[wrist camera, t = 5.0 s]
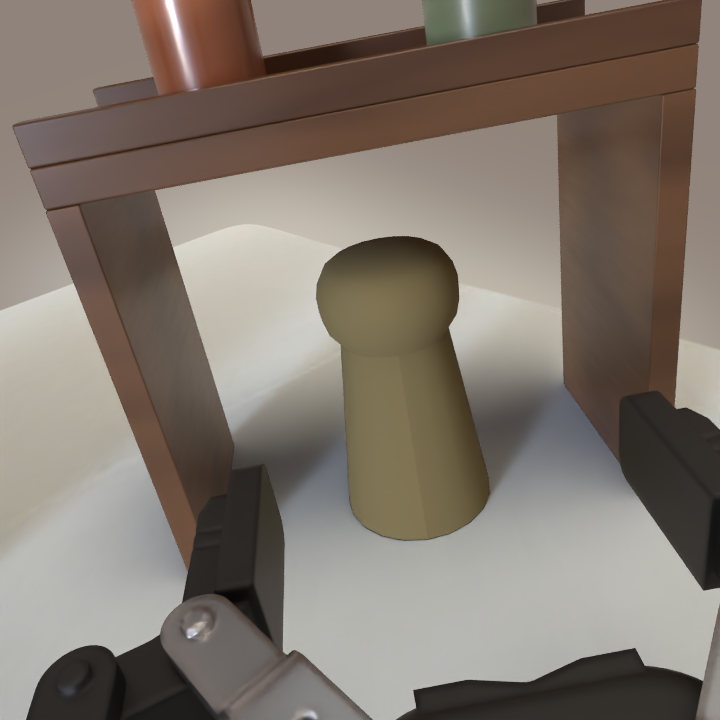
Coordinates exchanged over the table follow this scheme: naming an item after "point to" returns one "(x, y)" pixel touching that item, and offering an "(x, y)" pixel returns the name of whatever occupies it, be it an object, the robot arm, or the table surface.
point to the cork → (403, 388)
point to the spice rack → (365, 132)
